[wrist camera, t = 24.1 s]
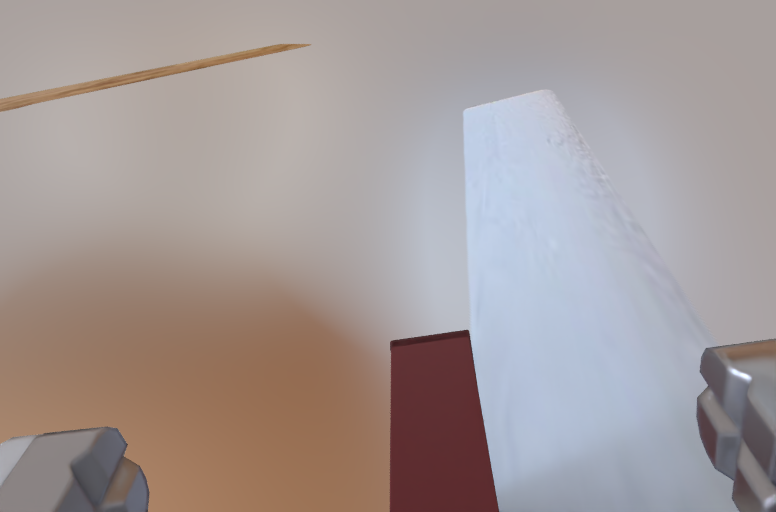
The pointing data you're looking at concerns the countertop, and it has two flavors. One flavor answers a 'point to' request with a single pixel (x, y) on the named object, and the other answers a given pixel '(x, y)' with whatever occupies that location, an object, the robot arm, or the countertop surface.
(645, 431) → the countertop surface
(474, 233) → the countertop surface
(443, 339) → the burgundy book
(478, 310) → the countertop surface
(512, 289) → the countertop surface
